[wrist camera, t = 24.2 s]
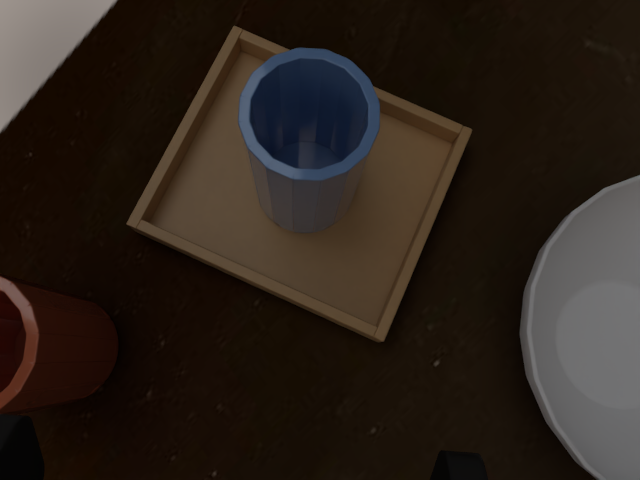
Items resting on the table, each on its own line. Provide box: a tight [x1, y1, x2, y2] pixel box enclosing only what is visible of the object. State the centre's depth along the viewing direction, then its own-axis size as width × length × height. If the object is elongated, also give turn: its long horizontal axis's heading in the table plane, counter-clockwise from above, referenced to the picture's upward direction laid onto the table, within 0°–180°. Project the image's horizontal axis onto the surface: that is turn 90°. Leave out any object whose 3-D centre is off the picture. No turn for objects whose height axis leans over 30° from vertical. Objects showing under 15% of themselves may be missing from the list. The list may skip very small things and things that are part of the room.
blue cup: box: [238, 48, 380, 233], centre depth 28 cm, size 6×6×10 cm
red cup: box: [0, 274, 118, 415], centre depth 26 cm, size 6×6×10 cm
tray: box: [126, 26, 472, 342], centre depth 32 cm, size 15×13×2 cm
